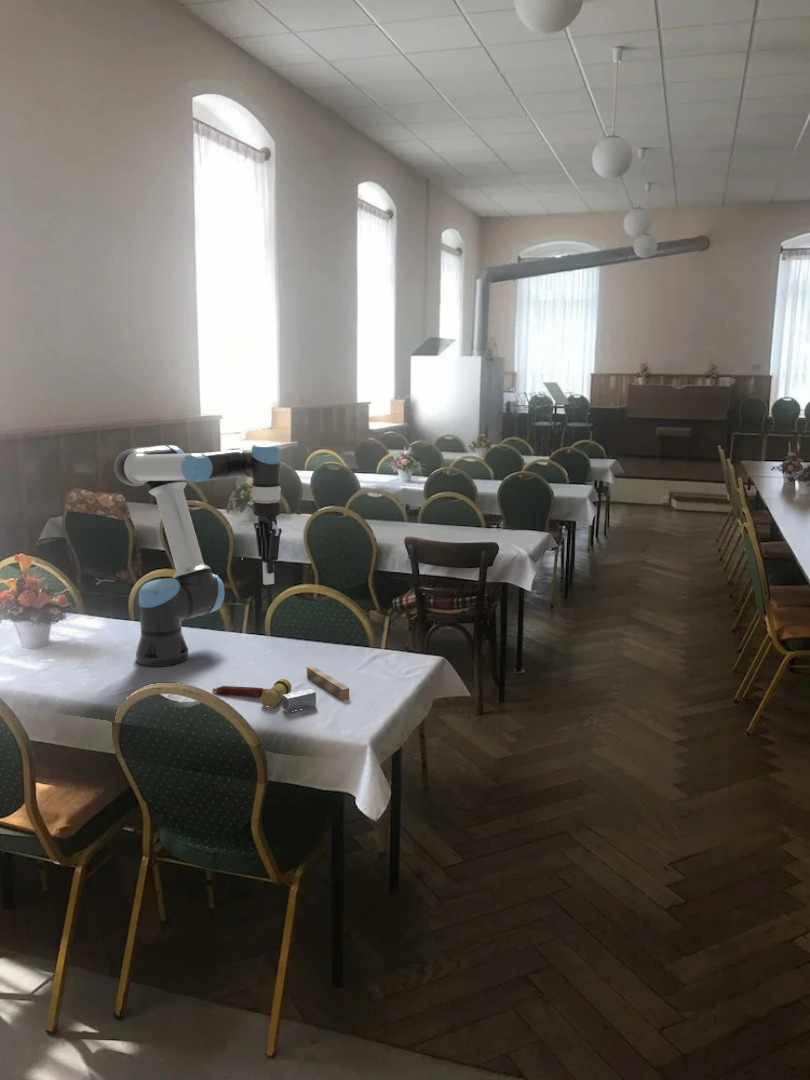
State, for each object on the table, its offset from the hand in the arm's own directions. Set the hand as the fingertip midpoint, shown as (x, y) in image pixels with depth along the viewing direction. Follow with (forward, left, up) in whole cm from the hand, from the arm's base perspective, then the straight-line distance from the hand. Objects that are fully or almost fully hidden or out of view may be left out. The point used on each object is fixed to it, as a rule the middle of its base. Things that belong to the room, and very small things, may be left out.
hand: (268, 583), depth 240 cm
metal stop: (+28, -5, -26) cm, 38 cm away
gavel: (+13, -13, -27) cm, 33 cm away
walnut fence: (+19, +8, -26) cm, 34 cm away
